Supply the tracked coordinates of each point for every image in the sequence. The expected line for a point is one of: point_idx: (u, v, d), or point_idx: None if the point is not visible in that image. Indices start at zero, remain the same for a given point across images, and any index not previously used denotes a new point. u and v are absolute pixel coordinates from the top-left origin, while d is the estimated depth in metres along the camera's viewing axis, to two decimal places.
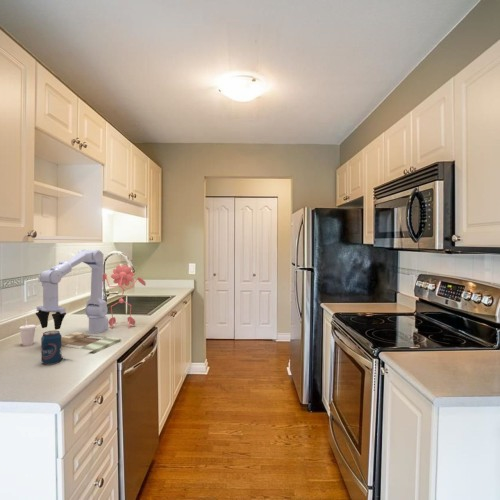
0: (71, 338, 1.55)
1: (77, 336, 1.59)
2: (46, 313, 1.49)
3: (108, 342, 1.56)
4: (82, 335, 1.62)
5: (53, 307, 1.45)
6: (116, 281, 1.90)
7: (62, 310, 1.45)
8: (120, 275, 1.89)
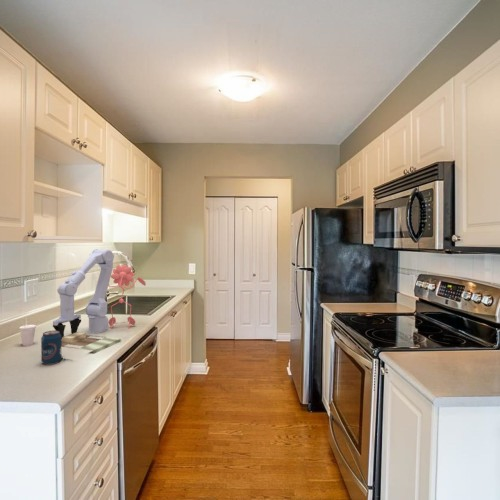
0: (73, 338, 1.55)
1: (79, 336, 1.58)
2: (75, 322, 1.63)
3: (108, 342, 1.56)
4: (84, 335, 1.61)
5: (61, 317, 1.57)
6: (116, 281, 1.90)
7: (53, 322, 1.52)
8: (120, 275, 1.89)
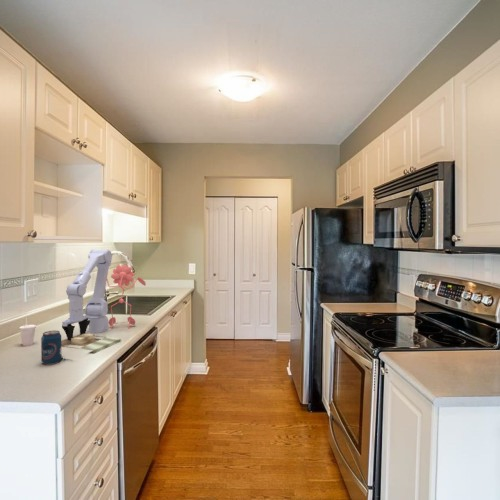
0: (82, 339, 1.53)
1: (88, 337, 1.57)
2: (84, 323, 1.61)
3: (108, 342, 1.56)
4: (93, 336, 1.60)
5: (70, 318, 1.55)
6: (116, 281, 1.90)
7: (63, 323, 1.51)
8: (120, 275, 1.89)
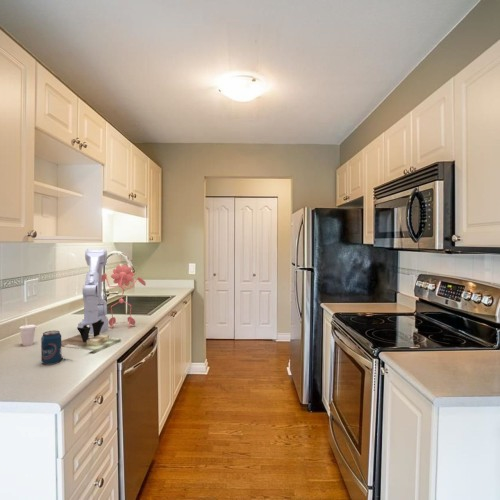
0: (98, 341, 1.51)
1: (103, 339, 1.55)
2: (98, 324, 1.59)
3: (108, 342, 1.56)
4: (107, 338, 1.58)
5: (85, 320, 1.53)
6: (116, 281, 1.90)
7: (78, 324, 1.49)
8: (120, 275, 1.89)
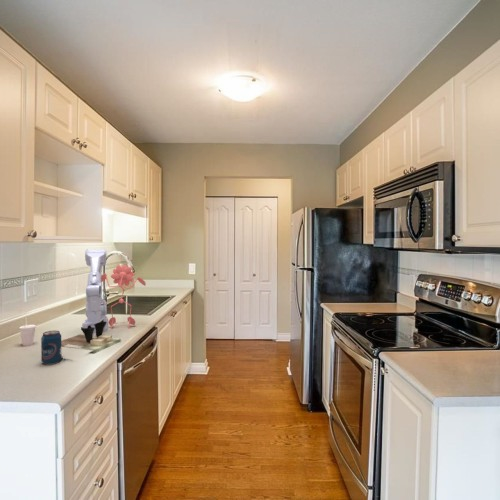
0: (102, 341, 1.51)
1: (107, 339, 1.55)
2: (100, 324, 1.59)
3: None
4: (110, 338, 1.58)
5: (88, 320, 1.53)
6: (116, 281, 1.90)
7: (83, 325, 1.48)
8: (120, 275, 1.89)
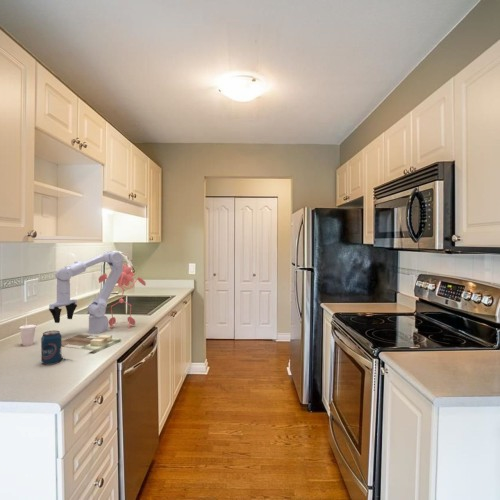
0: (102, 341, 1.51)
1: (107, 339, 1.55)
2: (71, 307, 1.67)
3: None
4: (110, 338, 1.58)
5: (57, 302, 1.61)
6: None
7: (50, 306, 1.57)
8: (120, 275, 1.89)
